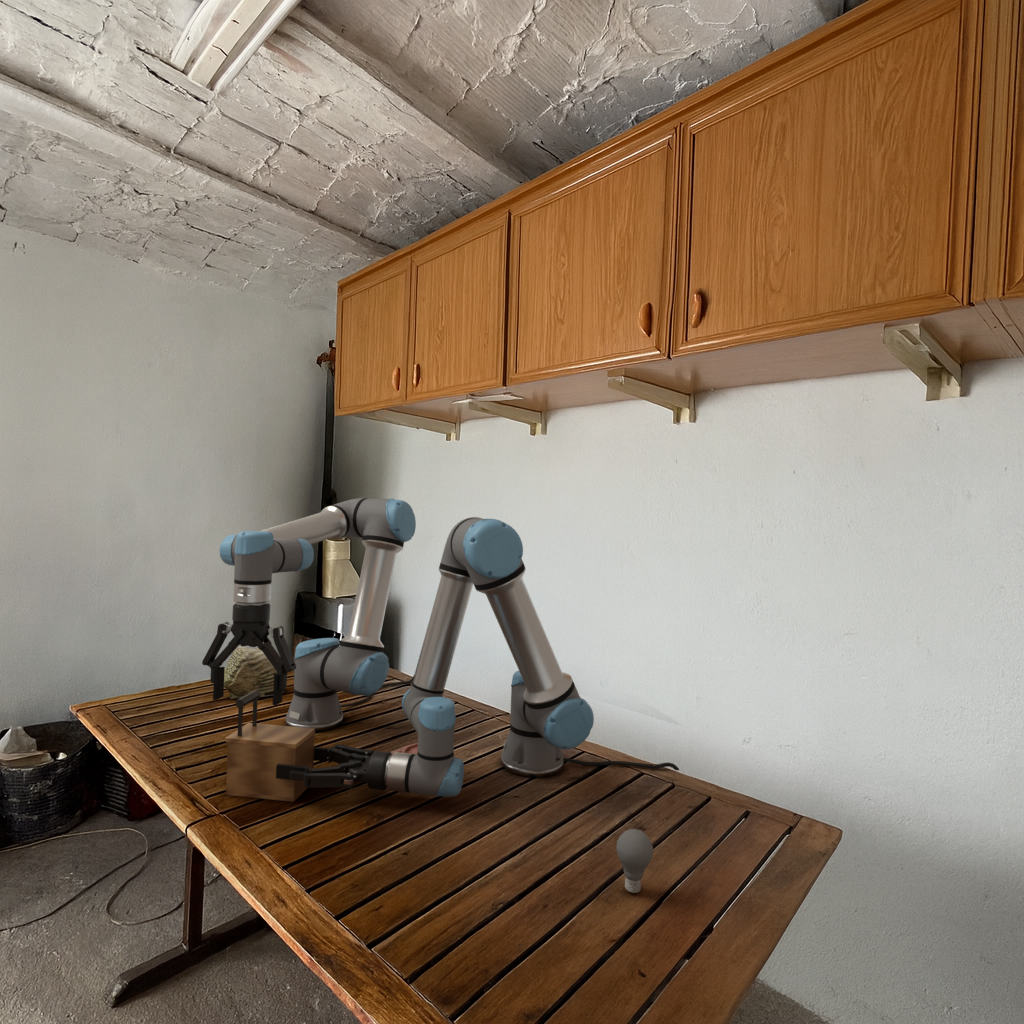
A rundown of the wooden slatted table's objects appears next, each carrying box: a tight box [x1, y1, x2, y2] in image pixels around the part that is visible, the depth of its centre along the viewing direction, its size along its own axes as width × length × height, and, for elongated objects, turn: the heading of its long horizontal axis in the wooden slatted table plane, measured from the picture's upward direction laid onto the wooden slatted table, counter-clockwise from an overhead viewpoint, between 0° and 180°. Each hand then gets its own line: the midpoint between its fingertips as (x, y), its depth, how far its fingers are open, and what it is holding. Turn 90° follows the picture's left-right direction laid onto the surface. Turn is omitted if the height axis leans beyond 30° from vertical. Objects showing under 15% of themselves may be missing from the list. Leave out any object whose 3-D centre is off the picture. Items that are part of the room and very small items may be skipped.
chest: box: [225, 732, 316, 803], centre depth 136 cm, size 15×9×11 cm, turn 83°
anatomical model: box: [390, 742, 418, 755], centre depth 152 cm, size 13×4×12 cm
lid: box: [224, 690, 316, 748], centre depth 136 cm, size 16×9×9 cm, turn 83°
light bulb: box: [615, 828, 654, 894], centre depth 106 cm, size 6×6×10 cm
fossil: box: [224, 646, 288, 699], centre depth 198 cm, size 9×18×15 cm, turn 132°
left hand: (247, 701), depth 137 cm, fingers open, 13 cm apart
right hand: (288, 761), depth 136 cm, fingers closed on chest, 9 cm apart
